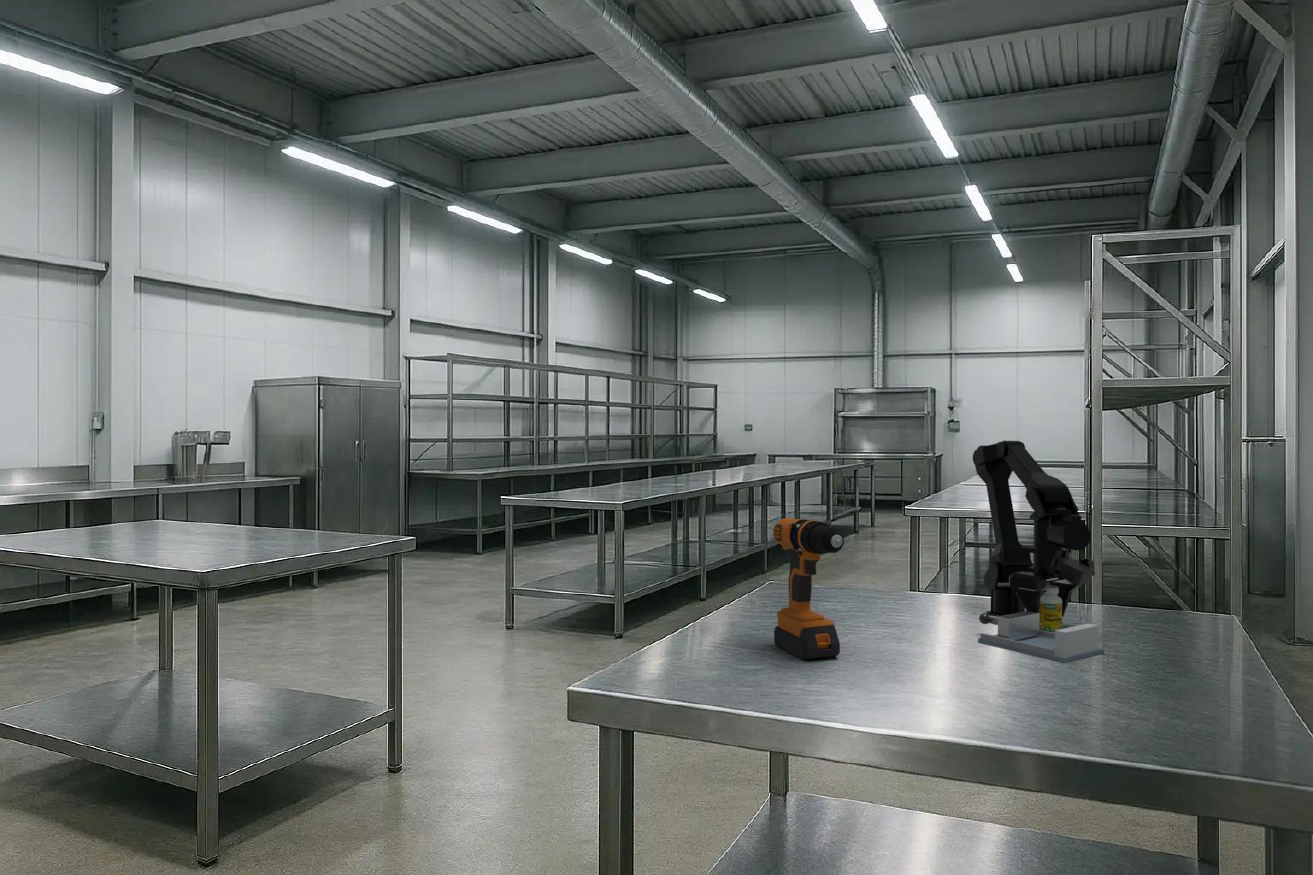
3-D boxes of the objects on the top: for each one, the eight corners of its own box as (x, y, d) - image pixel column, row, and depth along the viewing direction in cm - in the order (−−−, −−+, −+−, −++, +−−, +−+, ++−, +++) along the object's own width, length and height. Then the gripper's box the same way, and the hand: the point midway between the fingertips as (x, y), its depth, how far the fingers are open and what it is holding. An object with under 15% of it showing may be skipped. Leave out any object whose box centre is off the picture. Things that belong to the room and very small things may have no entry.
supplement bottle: (1052, 629, 185) (1052, 583, 185) (1067, 635, 180) (1068, 588, 180) (1028, 630, 184) (1028, 584, 184) (1042, 636, 179) (1043, 588, 179)
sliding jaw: (964, 631, 178) (964, 609, 178) (994, 625, 183) (995, 604, 183) (1008, 641, 169) (1008, 618, 169) (1039, 635, 175) (1039, 612, 175)
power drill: (860, 668, 154) (862, 525, 153) (823, 671, 151) (824, 526, 151) (802, 639, 174) (803, 513, 174) (768, 642, 172) (769, 514, 171)
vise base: (978, 642, 173) (978, 615, 173) (1017, 633, 180) (1018, 608, 180) (1064, 662, 158) (1064, 633, 158) (1104, 652, 166) (1104, 625, 166)
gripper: (1059, 551, 170) (1058, 632, 170) (1111, 545, 180) (1110, 621, 181) (1007, 545, 179) (1006, 621, 179) (1060, 539, 190) (1059, 611, 190)
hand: (1047, 619), depth 182 cm, fingers open, 9 cm apart
